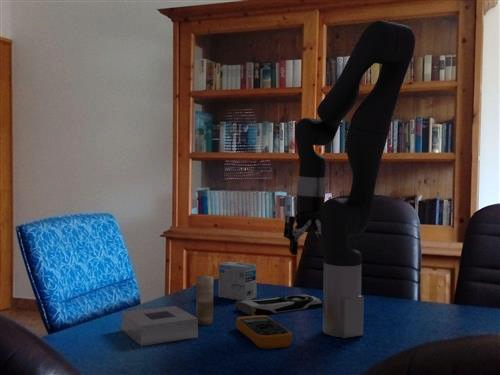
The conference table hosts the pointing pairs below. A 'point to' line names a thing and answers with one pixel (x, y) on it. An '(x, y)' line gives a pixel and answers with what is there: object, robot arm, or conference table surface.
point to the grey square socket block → (159, 325)
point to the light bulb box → (237, 280)
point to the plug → (204, 299)
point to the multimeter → (264, 331)
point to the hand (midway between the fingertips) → (307, 254)
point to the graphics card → (278, 305)
